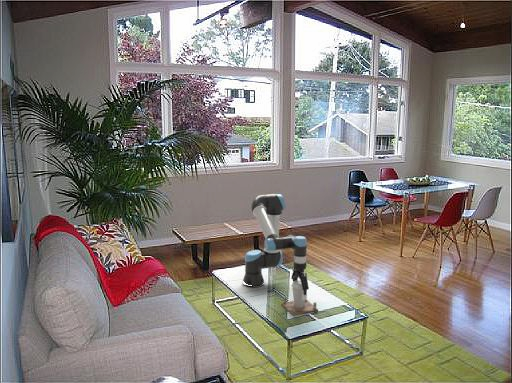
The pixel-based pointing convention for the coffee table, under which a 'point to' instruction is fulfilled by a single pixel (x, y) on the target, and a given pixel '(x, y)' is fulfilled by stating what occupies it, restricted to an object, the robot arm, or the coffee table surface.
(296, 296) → the coffee cup
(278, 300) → the coffee table surface
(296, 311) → the standoff base
